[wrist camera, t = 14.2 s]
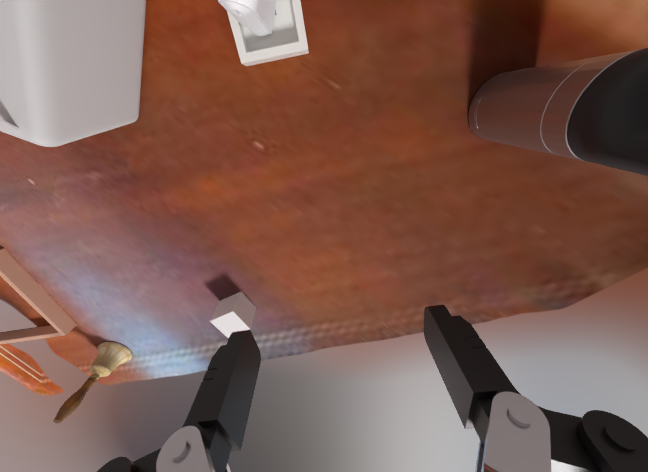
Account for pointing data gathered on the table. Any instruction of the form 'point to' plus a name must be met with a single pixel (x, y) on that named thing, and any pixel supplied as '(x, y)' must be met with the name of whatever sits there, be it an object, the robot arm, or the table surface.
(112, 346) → the hand bell
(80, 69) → the radio
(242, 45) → the dock
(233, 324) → the light grey cube
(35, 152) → the table surface
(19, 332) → the brown square frame
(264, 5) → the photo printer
